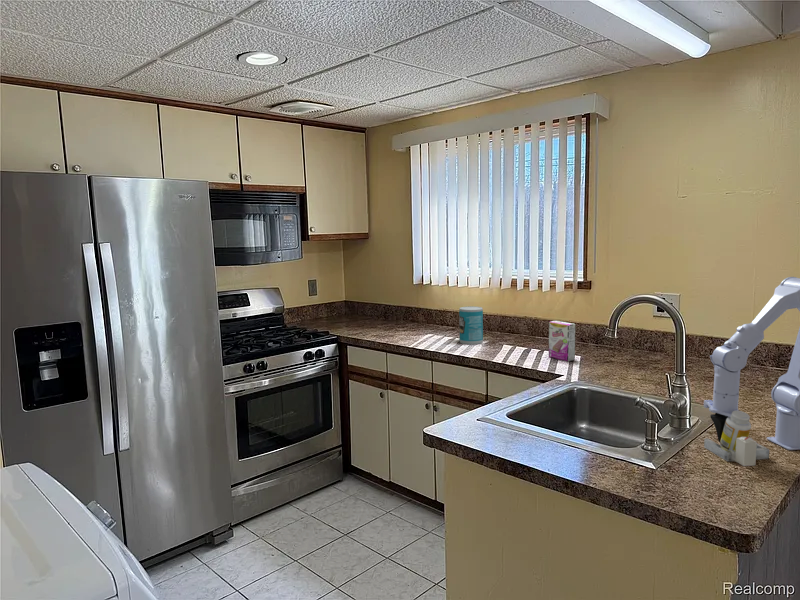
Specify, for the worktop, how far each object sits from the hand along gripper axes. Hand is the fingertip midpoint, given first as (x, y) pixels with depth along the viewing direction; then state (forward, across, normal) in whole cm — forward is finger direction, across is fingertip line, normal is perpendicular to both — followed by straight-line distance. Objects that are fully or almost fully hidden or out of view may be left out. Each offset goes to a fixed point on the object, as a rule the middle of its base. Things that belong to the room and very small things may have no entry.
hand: (723, 441), depth 145 cm
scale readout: (+1, +11, -2) cm, 11 cm away
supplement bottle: (0, +3, 0) cm, 3 cm away
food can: (+2, -143, -35) cm, 148 cm away
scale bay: (+1, +5, 0) cm, 5 cm away
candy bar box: (+2, -100, -4) cm, 100 cm away
